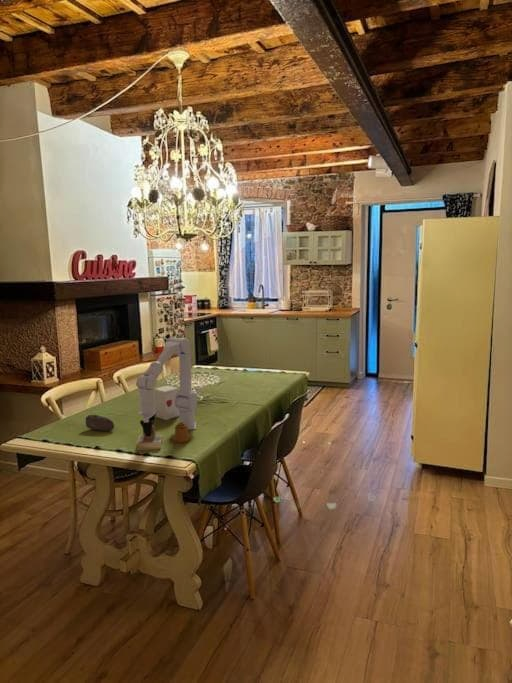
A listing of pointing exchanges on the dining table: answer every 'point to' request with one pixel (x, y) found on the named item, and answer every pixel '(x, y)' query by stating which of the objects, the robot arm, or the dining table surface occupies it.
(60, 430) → the dining table surface
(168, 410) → the supplement box
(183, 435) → the ornamental finial
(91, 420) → the perforated stone tool
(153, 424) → the walnut block
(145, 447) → the wooden framed grey panel
